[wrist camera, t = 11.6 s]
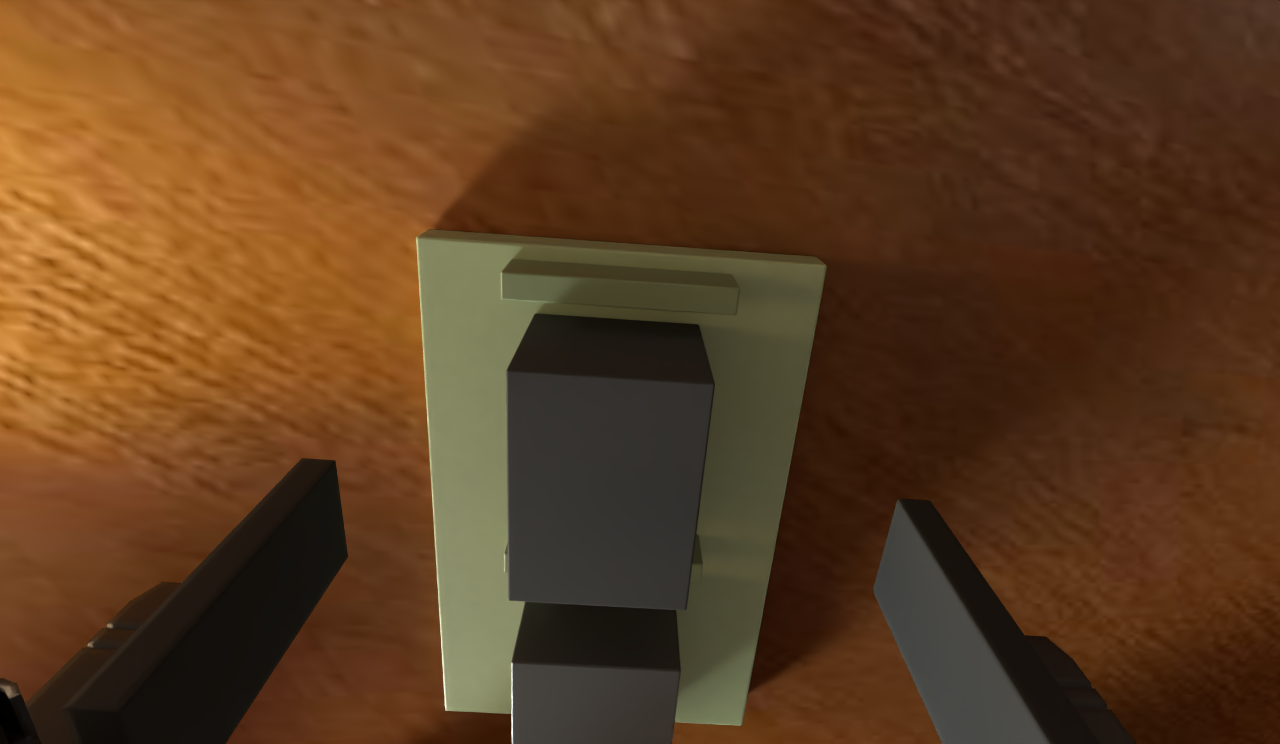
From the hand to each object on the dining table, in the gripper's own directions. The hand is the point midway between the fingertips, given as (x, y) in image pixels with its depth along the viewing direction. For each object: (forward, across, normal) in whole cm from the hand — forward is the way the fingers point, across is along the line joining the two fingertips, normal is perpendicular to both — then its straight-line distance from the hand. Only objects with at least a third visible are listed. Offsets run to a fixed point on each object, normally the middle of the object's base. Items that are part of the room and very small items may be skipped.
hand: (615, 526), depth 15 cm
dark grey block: (+6, 0, 0) cm, 6 cm away
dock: (+7, 0, -4) cm, 8 cm away
